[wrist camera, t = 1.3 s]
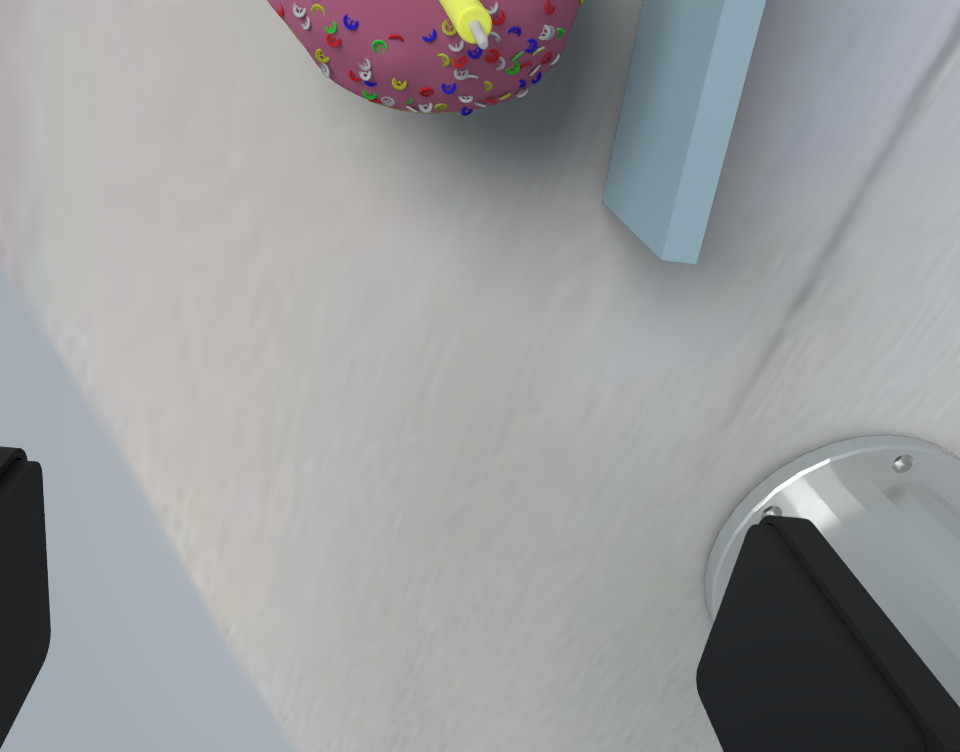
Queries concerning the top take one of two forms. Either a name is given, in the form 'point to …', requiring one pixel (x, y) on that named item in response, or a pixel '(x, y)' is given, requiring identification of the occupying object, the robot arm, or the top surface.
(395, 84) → the cupcake
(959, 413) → the top surface
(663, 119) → the blue grey rectangular panel
